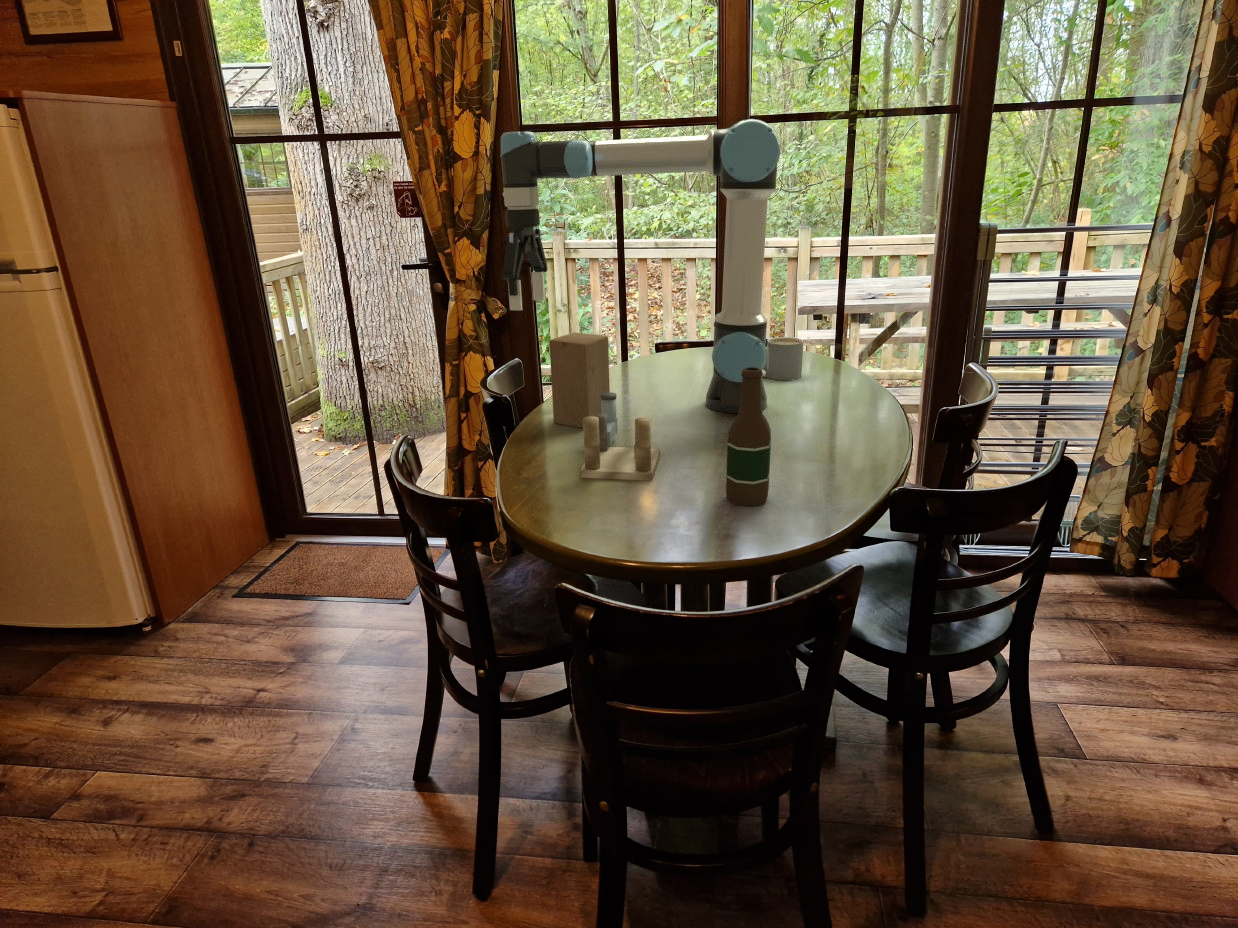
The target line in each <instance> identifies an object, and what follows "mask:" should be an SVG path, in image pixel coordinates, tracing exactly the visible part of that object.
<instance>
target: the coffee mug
mask: <svg viewBox="0 0 1238 928" xmlns="http://www.w3.org/2000/svg"><path fill="white" fill-rule="evenodd" d="M765 348H766V352H767V359H766V363H765V365H764V367H763V369H762V371H765V377H766V376H767V377H766V378H768V377H769V378H768V379H770V378H772V379H771V380H775V379H779V380H778V381H791V380H790V379H795V380H799V379H801V378H802V374H803V371H802V370H803V356H804V354H803V353H804V340H803V339H801V338H797V337H796V338H795V337H788V336H787V337H786V336H782V337H781V336H780V337H771V338H768V339H766V347H765ZM800 377H801V378H800ZM798 378H799V379H798Z"/></svg>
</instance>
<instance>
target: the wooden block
mask: <svg viewBox="0 0 1238 928" xmlns="http://www.w3.org/2000/svg"><path fill="white" fill-rule="evenodd" d="M548 343H549V345H548V346H549V358H550V359H549V360H550V376H551V377H550V378H551V394H552V395H551V397H552V398H551V399H552V413H553V415H552V416H553V423H554V424H558V425H564V426H569V427H575V428H579V429H583V418H584V417H588V416H594V415H595V414H602V408H601V394H602V393H607V392H610V391H611V390H610V388H611V387H610V356H609V355H610V354H609V353H610V352H609V351H610V349H609V336H608V335H602V334H592V333H585V332H584V333H583V332H576V331H575V332H570V333H567V334H565V335H561V336H558V337H555V338H552V339H550V340H549V341H548Z"/></svg>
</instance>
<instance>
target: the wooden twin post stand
mask: <svg viewBox="0 0 1238 928" xmlns="http://www.w3.org/2000/svg"><path fill="white" fill-rule="evenodd" d="M651 420H652V419H650V418H649V417H637V418H635V419H634V444H633V447H624V446H623V447H621V446H609V445H608V438H607V415H606V414H595V415H594V416H588V417H584V418H583V428H582V430H583V449H584V450H583V451H584V463H583V465H582V467H581V468H580V478H581V479H599V480H600V479H602V480H606V479H607V480H627V481H628V480H629V481H630V480H631V481H634V480H635V481H653V479H654V477H655V473H656V470H657V468H658V463H659V460H660V458H661V457H660V456H661V448H654V447H652V445H651V444H652V441H651V439H652V438H651V437H652V436H651V434H652V433H651V432H652V430H651V429H652V428H651V427H652V425H651V424H652V423H651V422H652V421H651Z"/></svg>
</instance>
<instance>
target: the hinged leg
mask: <svg viewBox="0 0 1238 928" xmlns="http://www.w3.org/2000/svg"><path fill="white" fill-rule="evenodd" d="M601 408H602V414H606V415H607V438H608V446H611V445H612V443H613V441H614V439H615V437H616V435H617V434H618V431H619V430H618V429H619V428H618V427H619V426H618V425H619V424H618V422H619V421H618V417H617V393H616V392H607V393H602V394H601Z"/></svg>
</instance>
